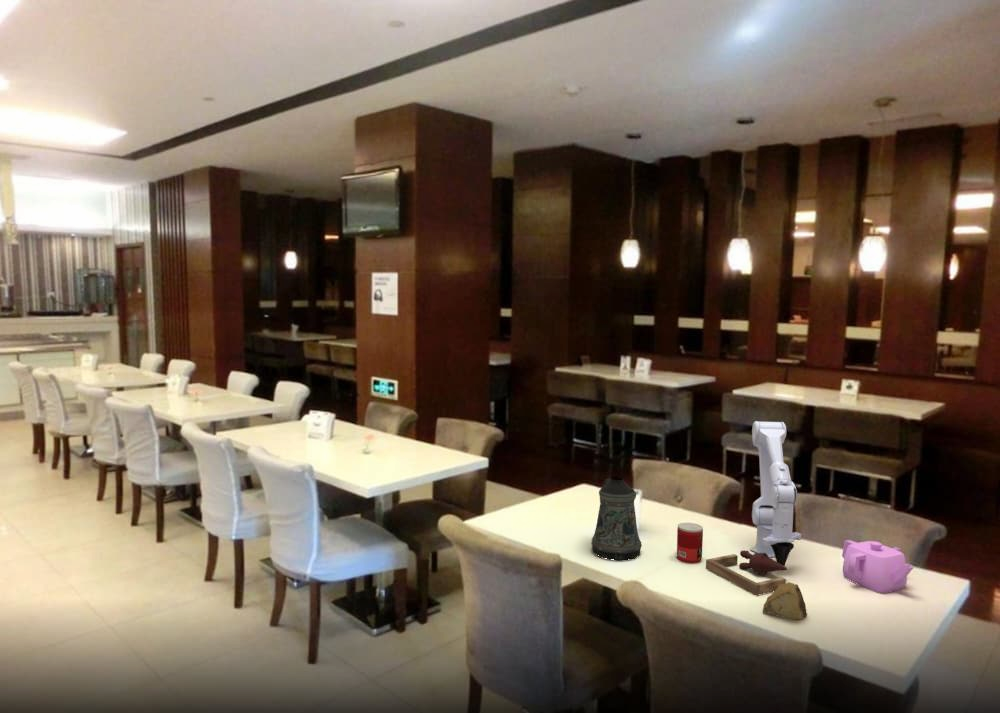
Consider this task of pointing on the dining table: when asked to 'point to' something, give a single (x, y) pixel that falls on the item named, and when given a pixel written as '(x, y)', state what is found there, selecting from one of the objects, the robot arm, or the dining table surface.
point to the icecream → (760, 563)
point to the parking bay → (721, 570)
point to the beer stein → (616, 522)
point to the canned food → (689, 542)
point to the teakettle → (875, 566)
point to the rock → (786, 602)
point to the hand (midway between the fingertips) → (780, 564)
